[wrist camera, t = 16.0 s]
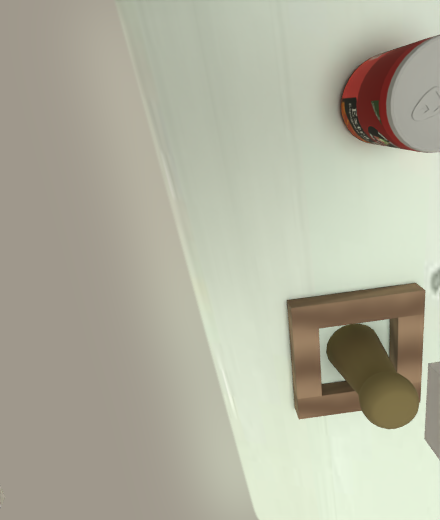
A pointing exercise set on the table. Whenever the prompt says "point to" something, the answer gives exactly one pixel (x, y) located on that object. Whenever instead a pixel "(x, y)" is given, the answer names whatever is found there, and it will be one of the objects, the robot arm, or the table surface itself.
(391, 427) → the cork
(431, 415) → the robot arm
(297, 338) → the socket plate
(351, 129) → the canned food
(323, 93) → the table surface
